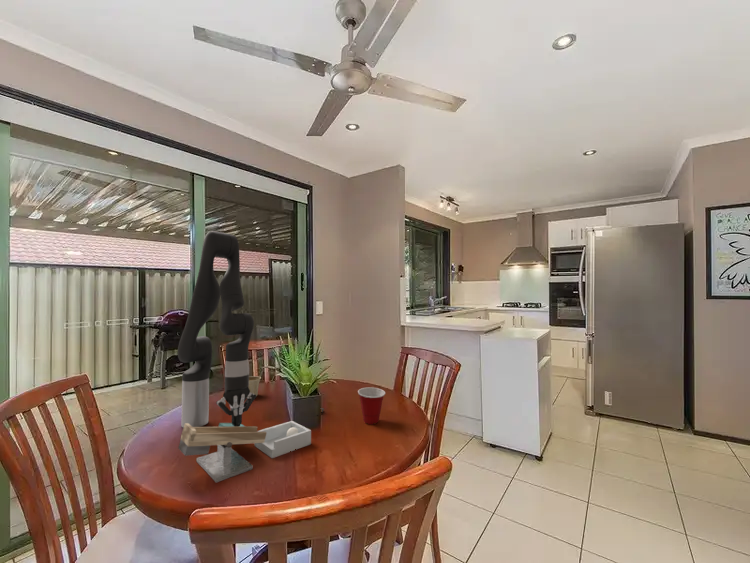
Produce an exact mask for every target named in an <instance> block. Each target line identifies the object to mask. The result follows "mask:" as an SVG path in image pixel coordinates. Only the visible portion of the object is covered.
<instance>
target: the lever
mask: <svg viewBox="0 0 750 563" xmlns="http://www.w3.org/2000/svg"><path fill="white" fill-rule="evenodd" d="M258 428H259V427H258V426H255V425H252V426H250V425H249V426H248V425H247V426H246V425H244V424H242V423H241V424H240V426H234V425H232V422H219V423H218V426H201V427H192V426H191V425H190V424H189V423H185V424H184V428H183V427H182V432H181V435H180V440H179V441H180V442H179V444H178V450H179V451H180V453H182V454H183V455H184V457H186V456H187V457H188V456H199V455H200V456H203V455H208V454H210V453H209V452H210V449H211V446H218V445H226V446H227V447H228V448H230V447H231V448H232V446H233V445H245V444H247V445H248V444H250V445H251V444H254V443H264V441H265V437H266V433H267V432H258Z"/></svg>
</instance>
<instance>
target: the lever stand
mask: <svg viewBox="0 0 750 563" xmlns="http://www.w3.org/2000/svg"><path fill="white" fill-rule="evenodd" d="M196 463H197V464H198V465H199V466H200V467H201V468H202V469H203V470H204V472H206V473H207V474H208V476H209V477H210V478H211V479H212V480H213V481H214V483H215V484H216V483H219V482H221V481H225V480H226V479H230V478H232V477H235V476H238V475H240V474H243V473H247V472H248V471H251V470H253V464H252V463H250V462H249V461H248V460H246V459H245V458H244V457H243V456H242V455H241V454H239V453H238V451H236V450H234V449H233V448H232V446H231V447H230V448H228V447H227V446H226V445H217V451H214V452H211V453H208V454H204V455H201V456H198V457H196Z"/></svg>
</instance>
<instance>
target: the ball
mask: <svg viewBox="0 0 750 563" xmlns="http://www.w3.org/2000/svg"><path fill="white" fill-rule="evenodd" d="M297 433H299V432H298V430H297V429H296V428H294V427H292V428H290V429H289V430H288V431H287V437H288V436H291V435H294V434H297Z"/></svg>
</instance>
